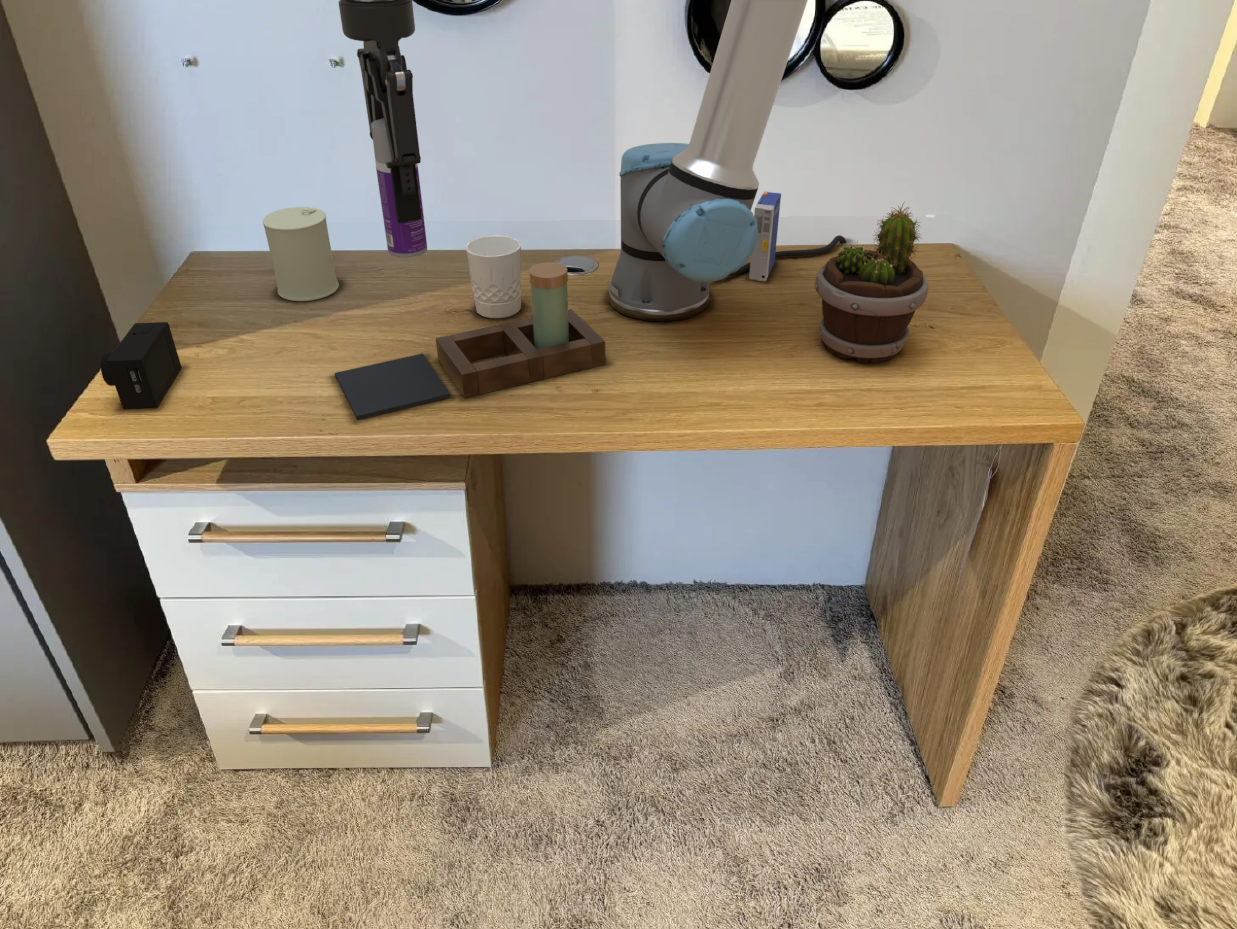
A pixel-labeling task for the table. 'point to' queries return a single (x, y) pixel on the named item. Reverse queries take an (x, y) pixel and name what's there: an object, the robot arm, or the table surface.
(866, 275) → the flowerpot
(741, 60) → the robot arm
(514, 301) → the white cup
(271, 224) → the can
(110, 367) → the digital camera
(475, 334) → the bottle rack
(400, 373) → the mat
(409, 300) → the table surface
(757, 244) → the walkman
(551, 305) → the spice jar
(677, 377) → the table surface
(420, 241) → the container
